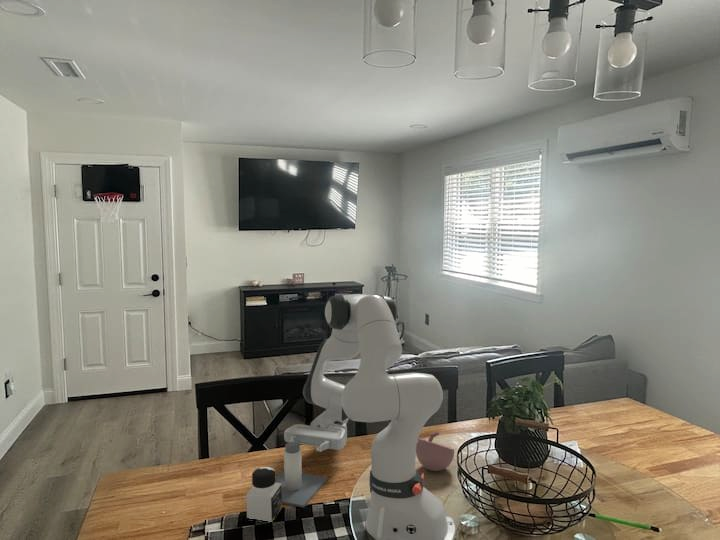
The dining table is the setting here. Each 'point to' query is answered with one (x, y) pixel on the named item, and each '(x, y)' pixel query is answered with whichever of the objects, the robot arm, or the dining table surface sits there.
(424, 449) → the mortar and pestle
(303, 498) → the slate mat
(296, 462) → the white pill bottle
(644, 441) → the dining table surface
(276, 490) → the medicine bottle
